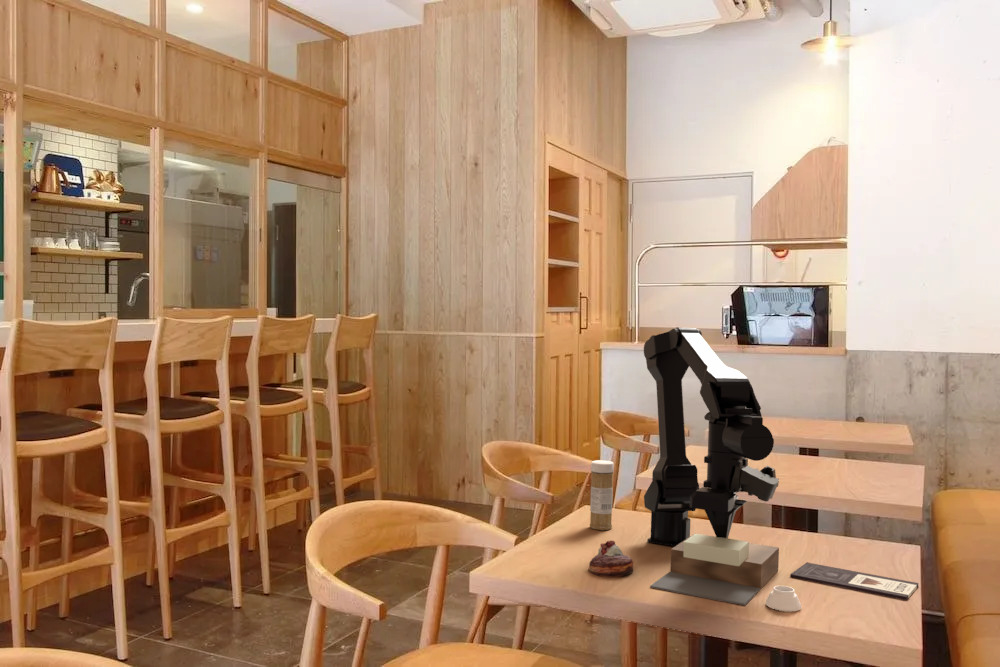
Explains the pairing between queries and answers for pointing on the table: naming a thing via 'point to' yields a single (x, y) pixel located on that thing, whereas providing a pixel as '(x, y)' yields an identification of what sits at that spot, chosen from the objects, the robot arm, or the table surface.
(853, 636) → the table surface
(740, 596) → the mat
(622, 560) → the pastry
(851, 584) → the chocolate bar
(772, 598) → the lidless jar
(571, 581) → the table surface
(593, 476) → the sprinkles bottle
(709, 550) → the cream block
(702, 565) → the wooden block
